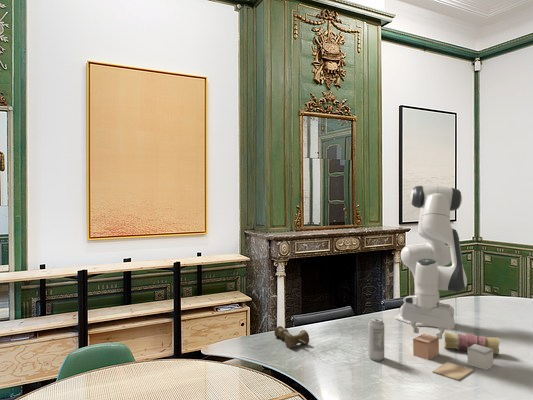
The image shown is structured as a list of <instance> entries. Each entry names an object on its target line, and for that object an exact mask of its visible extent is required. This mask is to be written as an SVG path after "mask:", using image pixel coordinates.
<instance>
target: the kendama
mask: <svg viewBox="0 0 533 400" xmlns="http://www.w3.org/2000/svg"><path fill="white" fill-rule="evenodd" d="M274 337H276V338H281V339H282V340H284V345H285V346H286V348H288V349H292V348H294V347H295V345H297V344H303V345H308V344H309V342H310V336H309V333H308V331H306V330H305V329H302V330H300V331H299V333H298V334H296V335H292V334H291V333H290V331H289V330H288V329H287V328H284V326H282V325H279V326H278V325H277V327H276V328H275V329H274Z"/></svg>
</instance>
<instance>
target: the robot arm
mask: <svg viewBox="0 0 533 400" xmlns="http://www.w3.org/2000/svg"><path fill="white" fill-rule="evenodd" d="M462 195H463V194H462V193H461V191H460V189H457V188H453V187H447V186H440V185H439V186H438V185H437V186H434V185H433V186H432V185H431V186H430V185H429V186H428V185H427V186H426V185H425V186H424V185H416V186H414V187H412V190H411V192H410V196H409V200H410V203H411V205H412V206H413V207H414V208H417V209H420V210H419V211H420V212H419V216H418V225H417V233H418V235H419V236H420V237H421V238H423V239H424V240H426V242H425V244H412V245H407V246H404V247H403V248H402V249H401V252H400V260H401V263H403V265H404V266H405V267H407V268H408V269H409V270H410V272H411V274H412V276H413V283H414V292H413V293H411V294H410V295H407V296H405V297H404V298H403V300H402V301H403V304H402V305H401V306H400V309H399V313H397V314H395V316H394V319H395V320H398V321H401V322H404V323H406V324H407V323H408V324H409V325H411V327H412V330H413V331H412V332H413V333H414V334H419V333H420V328H418V327H434V328H435V327H436V328H438V330H439V332H438V333H436V335H435V337H436V338H437V339H439V340H442V339H443V335H444V333H445V332H446V330H447V331H450V330H452V329H454V328H455V326H456V323H455V316H454V315H455V308H454V307H453V306H452V305H451V304H447V303H443V302H440V292H439V291H448V292H451V293H456V294H457V293H460V292H462V291H463V290H465V289H466V287H467V284H468V281H467V280H468V279H467V274H466V272H465V267H464V261H463V254H462V247H461V242H460V237H459V233H458V231H457V230H456V229H455V228H453V227H452V225H451V212H452V211H457V210H459V208H460V207H461V205H462V202H463V196H462ZM450 264H451V266H447V265H450Z"/></svg>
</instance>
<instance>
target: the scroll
mask: <svg viewBox="0 0 533 400" xmlns="http://www.w3.org/2000/svg"><path fill="white" fill-rule="evenodd" d="M443 335H444V336H443V337H444V338H443V339H444V341H443V342H444V344H443V346H444V348H445V349H458V351H465V352H466V353H467V354H468V348H469V347H470V346H472V345H474V344H477V345H481V346H484V347H488V348H492V349H493V354H497V355H499V353H500V348H499V347H500V343H501V340H500V339H501V338H500V337H486V336H477V335H476V334H472V333H471V334H470V333H466V334H463V333H461V334H460V333H457V334H455V333H453V332H452V333H451V332H446V331H444V333H443Z"/></svg>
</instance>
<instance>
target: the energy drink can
mask: <svg viewBox="0 0 533 400" xmlns="http://www.w3.org/2000/svg"><path fill="white" fill-rule="evenodd" d="M383 321H384V320H383V319H382V318H379V317H371V318H369V321H368V323H367V324H368V326H367V327H368V329H367V330H368V333H367V334H368V336H367V338H368V345H367V346H368V347H367V348H368V349H367V351H368V354H367V355H368V357H369V359H370V360H372V361H377V362H380V361H383V360H384V358H385V323H384V322H383Z"/></svg>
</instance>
